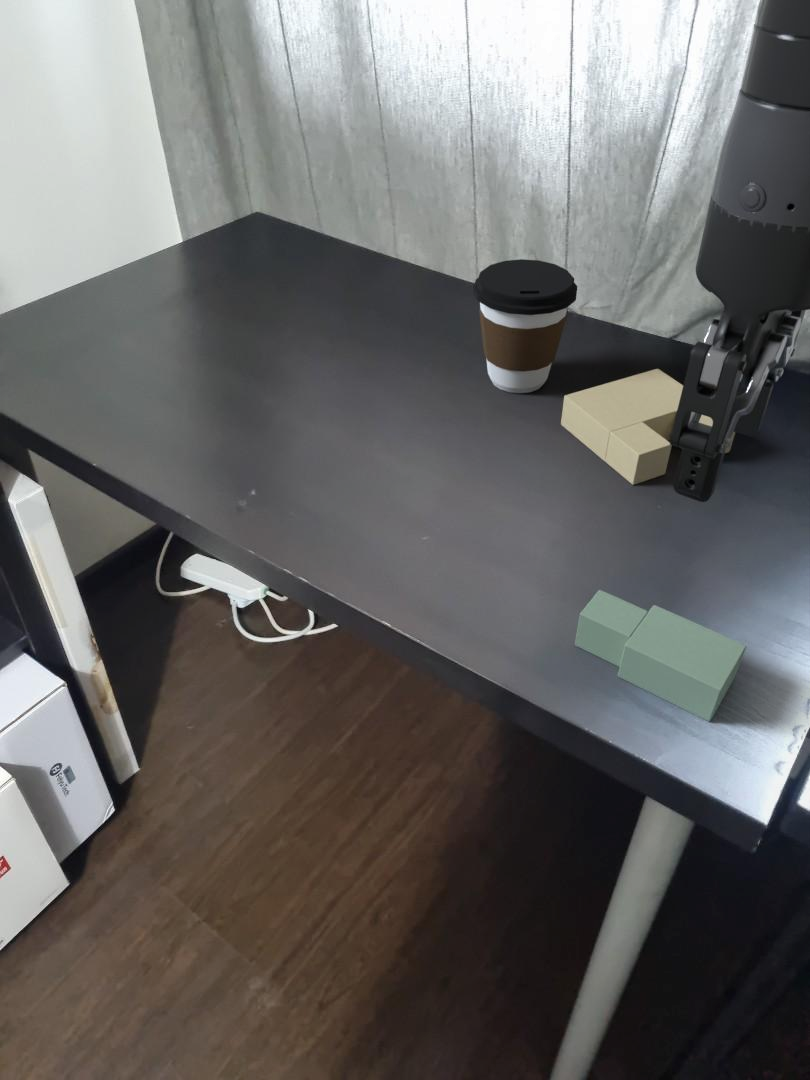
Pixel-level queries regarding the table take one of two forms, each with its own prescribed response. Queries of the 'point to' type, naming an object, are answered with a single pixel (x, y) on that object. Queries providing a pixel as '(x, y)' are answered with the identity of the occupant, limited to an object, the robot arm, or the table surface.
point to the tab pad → (661, 652)
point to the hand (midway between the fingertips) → (717, 461)
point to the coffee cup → (522, 320)
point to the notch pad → (628, 422)
